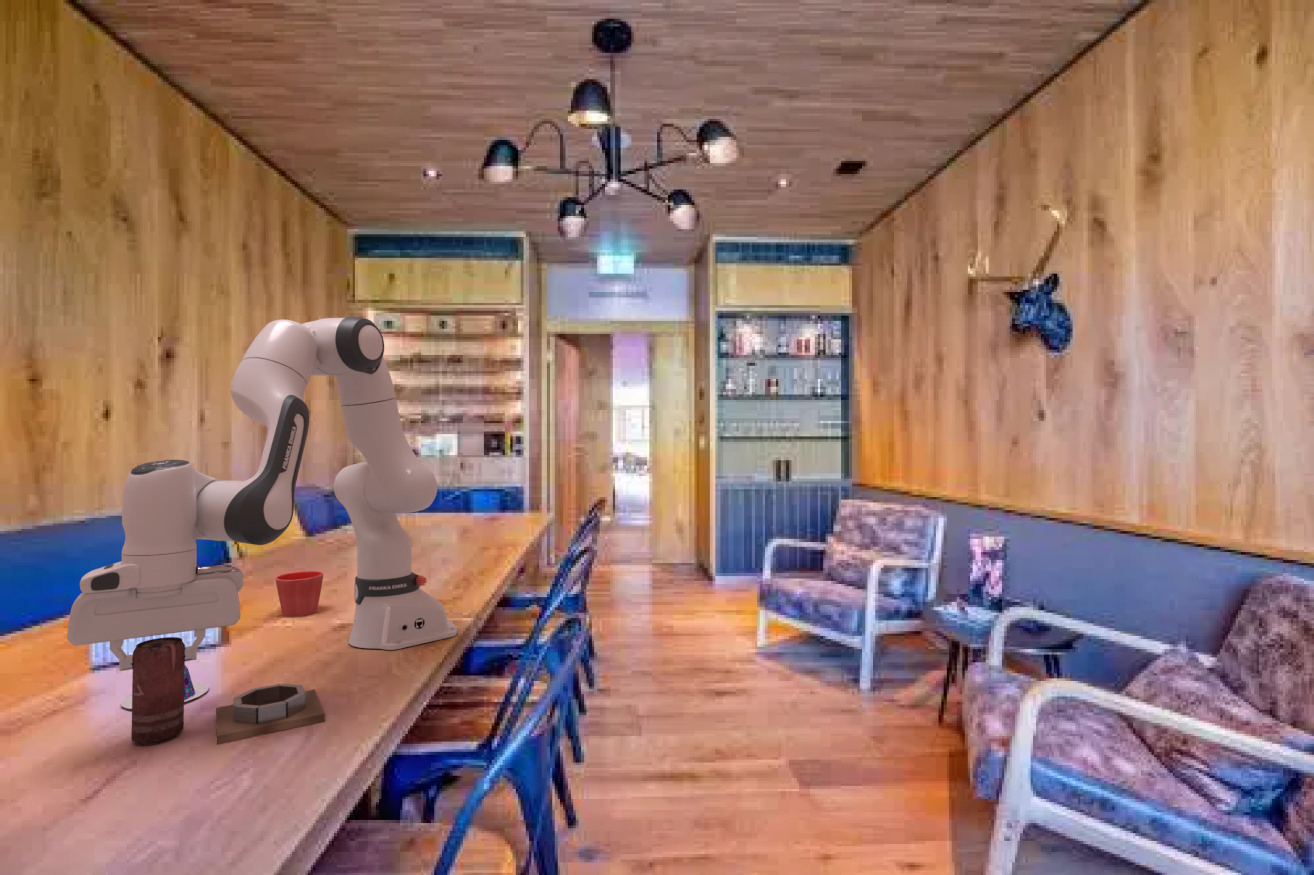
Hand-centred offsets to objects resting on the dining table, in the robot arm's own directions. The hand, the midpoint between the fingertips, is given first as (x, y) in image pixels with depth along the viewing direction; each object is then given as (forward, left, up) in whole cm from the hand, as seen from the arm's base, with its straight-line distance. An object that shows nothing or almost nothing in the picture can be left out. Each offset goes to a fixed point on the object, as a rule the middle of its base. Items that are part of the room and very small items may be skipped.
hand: (159, 664), depth 97 cm
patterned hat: (0, -18, -11) cm, 21 cm away
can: (0, 0, -11) cm, 11 cm away
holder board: (-14, +1, -11) cm, 18 cm away
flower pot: (-25, -67, -11) cm, 72 cm away
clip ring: (-14, +2, -10) cm, 17 cm away
